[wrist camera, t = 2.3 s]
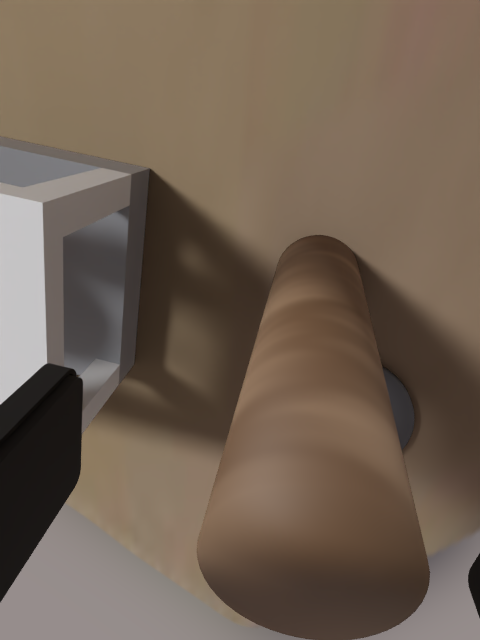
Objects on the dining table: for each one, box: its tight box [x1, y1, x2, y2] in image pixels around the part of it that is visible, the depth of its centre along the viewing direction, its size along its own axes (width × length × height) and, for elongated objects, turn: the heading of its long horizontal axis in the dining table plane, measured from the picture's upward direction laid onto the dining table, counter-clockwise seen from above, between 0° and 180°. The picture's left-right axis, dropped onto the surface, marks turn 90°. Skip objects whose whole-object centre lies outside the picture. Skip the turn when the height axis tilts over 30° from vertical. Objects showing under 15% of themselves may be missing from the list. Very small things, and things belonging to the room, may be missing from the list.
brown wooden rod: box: [197, 235, 430, 640], centre depth 13 cm, size 4×4×14 cm
